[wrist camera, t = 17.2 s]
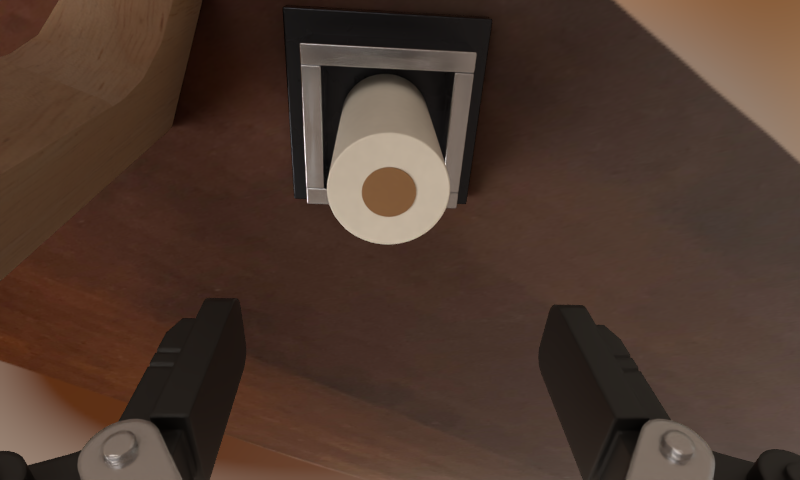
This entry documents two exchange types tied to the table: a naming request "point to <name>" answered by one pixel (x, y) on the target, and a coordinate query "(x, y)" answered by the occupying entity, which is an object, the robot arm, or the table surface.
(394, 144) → the paper roll
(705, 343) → the table surface
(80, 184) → the wooden block
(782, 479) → the robot arm
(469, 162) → the stand
